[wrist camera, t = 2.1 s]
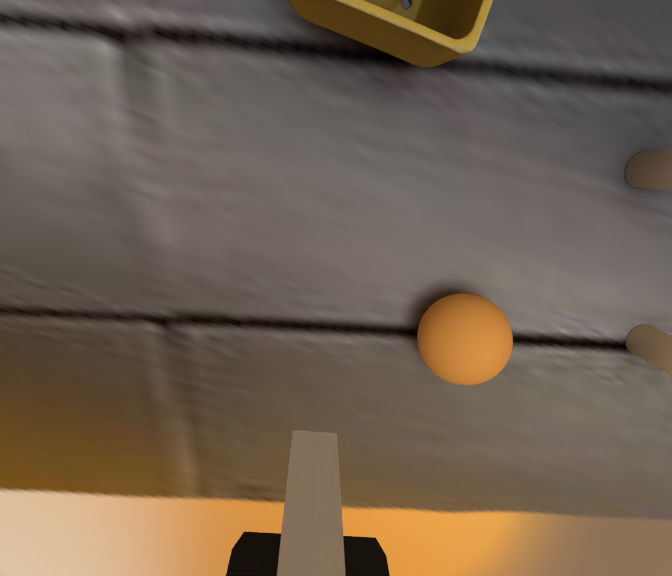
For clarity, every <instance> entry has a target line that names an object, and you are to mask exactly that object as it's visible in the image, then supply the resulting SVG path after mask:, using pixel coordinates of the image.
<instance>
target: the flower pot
mask: <svg viewBox="0 0 672 576" xmlns="http://www.w3.org/2000/svg"><path fill="white" fill-rule="evenodd" d="M289 1H290V3H291V5H292V7H293V8H294V10H295V11H296V12H297V13H298V14H299V15H300V16H301V17H302V18H304V19H306V20H308V21H309V22H311V23H314V24H316V25H319V26H321V27H324V28H326V29H329V30H332V31H334V32H337V33H339V34H342V35H344V36H347V37H349V38H352V39H354V40H356V41H359V42H361V43H364V44H366V45H369V46H371V47H374V48H376V49H378V50H381V51H383V52H386V53H388V54H390V55H393V56H395V57H397V58H400V59H402V60H404V61H406V62H408V63H411V64H413V65H416V66H419V67H426V68H428V67H434V66H437V65H440V64H442V63H445V62H447V61H450V60H452V59H455V58H457V57H459V56H461V55H464V54H467V53H469V52H470V51H472V50H473V49H474V47H475V46H476V44H477V42H478V40H479V37H480V34H481V32H482V29H483V27H484V24H485V21H486V19H487V16H488V13H489V10H490V7H491V4H492V2H493V0H410V1H411V5H410V7H409V8H404V7H403V6H402V4H401V1H402V0H289Z"/></svg>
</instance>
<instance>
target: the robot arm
mask: <svg viewBox="0 0 672 576" xmlns="http://www.w3.org/2000/svg"><path fill="white" fill-rule="evenodd" d="M226 576H389V570H388V564H387V558H386V555H385V553H384V551H383V550H382V548H381V546H380V545H379V543H378V541H377V539H376V538H369V537H352V536H343V525H342V509H341V492H340V476H339V459H338V443H337V433H325V432H312V431H298V430H293V432H292V441H291V450H290V459H289V469H288V478H287V487H286V496H285V505H284V515H283V524H282V533H281V534H274V533H258V532H244V533H243V534H242V536H241V537H240V539H239V540H238V541H237V543H236V544H235V546H234V547H233V549H232V552H231V556H230V560H229V565H228V569H227V574H226Z"/></svg>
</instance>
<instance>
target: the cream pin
mask: <svg viewBox="0 0 672 576" xmlns="http://www.w3.org/2000/svg"><path fill="white" fill-rule="evenodd" d="M626 347H627V349H628V350H629V351H630V352H632V353H633V354H635V355H637V356H638V357H640V358H642V359H643V360H645V361H647V362H649V363H650V364H652V365H654V366H655V367H657V368H659V369H660V370H662V371H664V372H666V373H667V374H669V375H671V376H672V336H671V335H669V334H667V333H665V332H662V331H660V330H658V329H656V328H654V327H652V326H650V325H640V326H638V327H636V328H634V329H633V330H632V331H631V332H630V333H629V334H628V336H627V338H626Z"/></svg>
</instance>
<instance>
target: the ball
mask: <svg viewBox="0 0 672 576" xmlns="http://www.w3.org/2000/svg"><path fill="white" fill-rule="evenodd" d="M417 342H418V348H419V351H420V354H421V357H422V359H423V361H424V362H425V363H426V365H427V366H428V368H429V369H430V370H431V371H432V372H434V373H435V374H436V375H437V376H439V377H440V378H442V379H444V380H446V381H448V382H451V383H454V384H459V385H474V384H479V383H483V382H485V381H487V380H490V379H491V378H493V377H494V376H496V375H497V374H498V373H499V372H500V371H501V370H502V369H503V368H504V366H505V365H506V363H507V362H508V360H509V357H510V355H511V352H512V345H513V337H512V331H511V327H510V324H509V322H508V320H507V318H506V317H505V315H504V314H503V312H502V311H501V310H500V309H499V308H498V307H497V306H496V305H495V304H493V303H492V302H490V301H489V300H487V299H485V298H483V297H480V296H477V295H473V294H464V293H462V294H453V295H449V296H446V297H444V298H442V299H440V300H438V301H437V302H435V303H434V304H433V305H431V306H430V307H429V308H428V310H427V311H426V312H425V314H424V315H423V317H422V319H421V321H420V324H419V328H418V333H417Z"/></svg>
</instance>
